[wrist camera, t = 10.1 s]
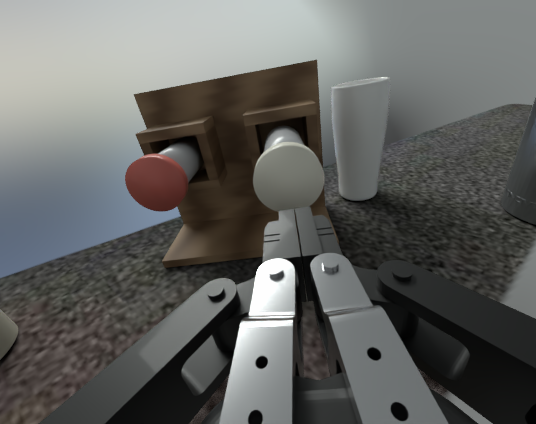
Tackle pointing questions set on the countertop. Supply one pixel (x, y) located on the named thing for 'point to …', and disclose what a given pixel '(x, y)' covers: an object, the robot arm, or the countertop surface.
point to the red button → (164, 175)
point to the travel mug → (6, 333)
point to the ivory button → (287, 172)
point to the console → (230, 153)
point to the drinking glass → (359, 134)
